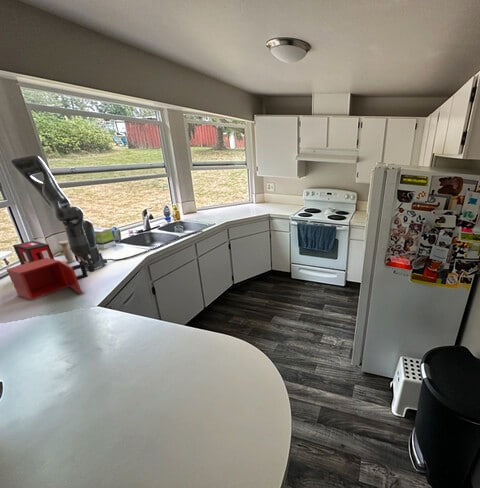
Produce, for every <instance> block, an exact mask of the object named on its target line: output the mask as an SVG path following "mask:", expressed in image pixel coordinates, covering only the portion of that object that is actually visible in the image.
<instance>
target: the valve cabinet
mask: <svg viewBox="0 0 480 488" xmlns="http://www.w3.org/2000/svg"><path fill="white" fill-rule="evenodd" d="M60 262H61V261H60V260H57V259H54V260H53V259H49V258H45V259H41V260H37V261H34V262H30V263H27V264H23V265H21V264H20V265H16V266H13V267H9V268H5V270H6V272H7V274H8V276H9V278H10V280H11V283H12V285H13V288H14V289H15V291H16V294H17V296H18V297H21V298H24V299H26V300H27V299H28V300H30V301H33V300H35V299H39V298H42V297H43V296H47V295H49V294H52V293H54V292H57V291H60V290H63V289H64V288H67V287H69V285H68V283H67V280H66V278H65V275H64V272H63V270H62V267H61V264H60Z"/></svg>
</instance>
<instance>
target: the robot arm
mask: <svg viewBox="0 0 480 488" xmlns="http://www.w3.org/2000/svg"><path fill="white" fill-rule="evenodd" d="M9 162H10V164H11V166H12V167H13V168H14V169H15V171H17V173H18V174H19V175H20V176H21V177H22V178H23V179H24V180H25V181H26V182H27V183H29V185H30V186H31V187H32V188H33V189H34V191H36V193H37V194H38V195H39V197H41V199H42V200H43V201H44V202H45V203H46V205H47V206H48V207H49V208H50V209H51V210H52V211H53V214H54V215H53V216H54V217H55V219H56V220H57V221H59V222H61V223H62V224H63V225H64V232H65V234H66V237H67V240H68V242H69V244H68V246H69V248H70V250H71V252H72V254H73V257H74V260H75V261H76V262H77V263H78V265H79V264H84V266H85V269H86V271H88V272H89V273H93V272H95V270H98V269H101V268H103V267H104V266H106V265H105V264H108V261H114V262H115V261H122V260H126V259H131V258H133V257H136V256H139V255H142V254H145V253H148V252H150V251H152V250H155V249H157V248H159V247H162V246H164V245H167V244H168V243H171V242H173V241H176V240H178V239H181V238H183V237H187V236H190V235H194V234H197V233H201V232H203V230H198V231H195V232H191V233H188V234H187V233H186V234H184V235H180V236H178V237H175V238H173V239H170V240H168V241H166V242H164V243H162V244H159V245H160V246H159V245H157V246H158V247H157V246H154V247H155V248H154V247H152V248H153V249H152V248H150V249H147V250H148V251H147V250H144V251H141V252H139V253H136V254H133V255H130V256H126V257H123V258H117V259H116V258H114V259H113V258H104V257H103V255H102V252H100V250H99V248H98V247H97V244H96V236H95V232H94V225H93V223H92V221H91V220H89V219H84V211H83V210H82V209H81V207H79V206H77V205H73V206H71V201H70V199H69V198H68V197H67V195H66V194H65V193H64V192H63V190H62V189H61V188H60V186H59V184H58V183H57V181H56V179H55V177H54V175H53V174H52V172H51V170H50V168H49V167H48V166H47V164H46V163H45V161H44V160H43V158H41V157H40V156H39V155H37V154H34V153H31V154H27V155H23V156H19V157H14V158H11V159H10V161H9ZM39 174H42V176H43V182H42V181H41V180H39V179H37V178H36V177H34V176H35V175H39Z"/></svg>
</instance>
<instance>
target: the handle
mask: <svg viewBox="0 0 480 488" xmlns="http://www.w3.org/2000/svg"><path fill="white" fill-rule="evenodd" d="M58 245H59V246H61V248H62V253H63V255H64V258H65V259H66V262H67V263H73V262H75V258H74V254H73V253H72V251H71V248H70V245H69V242H68V239H67V240H61V241H58Z"/></svg>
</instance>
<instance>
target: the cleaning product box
mask: <svg viewBox="0 0 480 488" xmlns="http://www.w3.org/2000/svg"><path fill="white" fill-rule="evenodd" d="M12 247H13V249H14V251H15V255H16V256H17V258H18V261H19V263H20V265H23V264H27V263H30V262H34V261H37V260H41V259H45V258H49V259H53V260H55V257H54V255H53V253H52V249H51V247H50V245H49V244H48V243H45V242H40V241H37V240H36V241H35V240H30V241H25V242H21V243H16V244H13V245H12Z"/></svg>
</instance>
